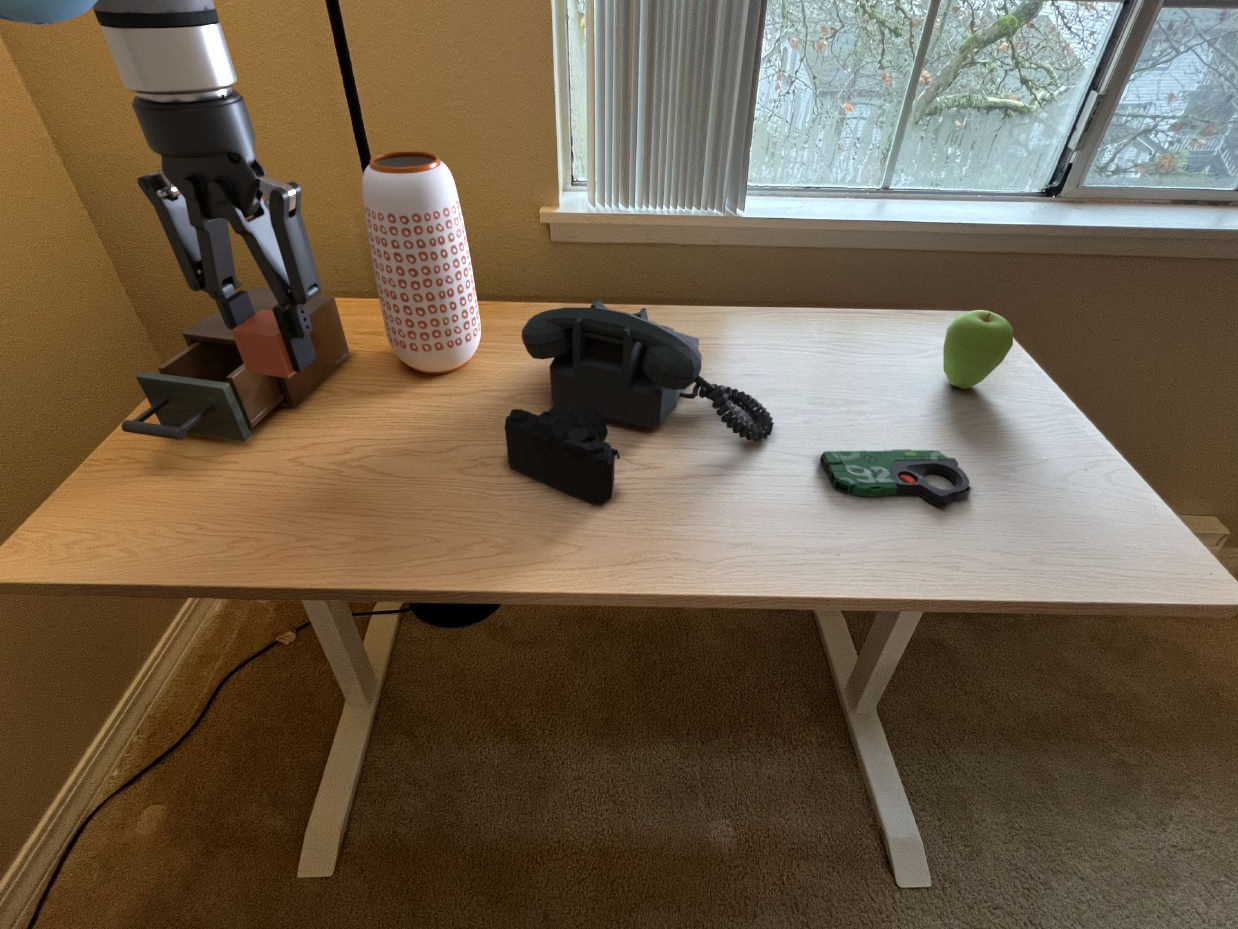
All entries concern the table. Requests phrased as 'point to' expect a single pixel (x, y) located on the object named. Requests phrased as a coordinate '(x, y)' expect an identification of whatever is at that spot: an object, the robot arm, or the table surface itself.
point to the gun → (894, 473)
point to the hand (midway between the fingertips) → (281, 361)
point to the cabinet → (323, 336)
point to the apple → (975, 347)
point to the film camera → (563, 450)
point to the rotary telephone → (630, 368)
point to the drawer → (205, 395)
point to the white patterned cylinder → (421, 260)
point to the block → (263, 346)
